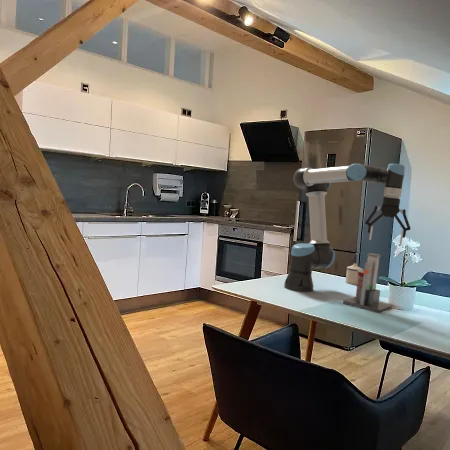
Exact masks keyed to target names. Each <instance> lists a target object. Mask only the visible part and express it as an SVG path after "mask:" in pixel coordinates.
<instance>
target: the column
mask: <svg viewBox="0 0 450 450" xmlns="http://www.w3.org/2000/svg"><path fill="white" fill-rule="evenodd" d="M366 256H367V261H366V263H370V267H369V275H368V283H367V290H370V291H375V289H376V288H377V280H378V273H379V272H378V271H379V265H380V264H379V263H380V258H381V257H382V256H381V254H378V253H372V252H371V253H367V254H366Z"/></svg>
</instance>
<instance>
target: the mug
mask: <svg viewBox="0 0 450 450" xmlns="http://www.w3.org/2000/svg"><path fill="white" fill-rule="evenodd" d="M363 277H364V269H362V270H358V278H357V285H356V292H355V297H358V289H359V288H362V284H363Z"/></svg>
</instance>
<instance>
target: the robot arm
mask: <svg viewBox="0 0 450 450" xmlns="http://www.w3.org/2000/svg"><path fill="white" fill-rule="evenodd" d="M405 167H406V166H405V165H404V164H399V163H389V164H388V165H387V167H379V166H371V165H367V164H362V163H352V164H350V165H341V166H331V167H321V168H312V167H301V168H298V169H297V170H296V171H295V172H294V174H293V178H292V179H293V183H294V185H295V186H296V187H297V188H299V189H301V190H304V191H305V196H306V197H308V211H309V213H308V214H309V228H310V241H309V243H296V244H295V243H294V245H292V247H291V252H290V259H289V260H290V261H289V271H288V274H287V277H286V279H285V281H284V283H283V284H284V285H283V286H284V288H285V289H288V290H291V291H298V292H313V291H314V282H313V278H312V273H313V269H327V268H330V267H331V266H332V265H333V264H334V263H335V259H336V253H335V250H333V249H334V248H332V246H331V242H330V241H329V240H328V237H327V236H328V234H327V232H328V231H327V219H326V218H327V216H326V202H325V201H326V198H325V196H326V195H328V191H329V189H330V187H331V184H332V183H344V182H366V183H370V184H375V183H376V184H384V190H383V198H382V202H381V203H382V205H381V206H378V205H375V206H374V208H373V211H372V212H371V214H370V215H369V216H368V217H367V219H366V220H365V222H364V223H365V224H366V226H368V230H367V233H369V238H368V240H369V241H371V240H372V235H373V229H374V226H373V225H374V224H375V223H376V222H378V220H380V219H381V218H382V217H387V218H388V217H389V218H394V219H395V220H396V221H397V223H398V224H399V226H400V227H401V228H402V230H401V233H400V241H399V246H400V245H402V242H403V238H404V239H405V238H406V233H407V231H411V226H410V222H409V219H408V217H407V214H406V211H407V210H406V209H405V208H404V209H403V208H402V209H400V203H401V199H400V198H401V197H402V191H403V184H404V183H403V182H404V178H405V169H406V168H405ZM378 211H381V213H380V214H379V215H378V216H377V217H376V218H374V219H373V220H372V218H373V217H374V216H375V214H376V213H377V212H378ZM399 213H401V215H402V216H403V219H404V222H405V225H406V226H405V225H404V224H403V222H402V221H401V219H400V218H399V216H398V214H399ZM371 220H372V221H371Z"/></svg>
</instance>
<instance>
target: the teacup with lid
mask: <svg viewBox="0 0 450 450" xmlns="http://www.w3.org/2000/svg"><path fill="white" fill-rule="evenodd" d="M358 270H363V268H361V267H360V266H358V264H357V263H353V264H352V265H350V266H349V265H348V266H347V267H346V274H345V283H346V284H350V285H355V286H357V278H358Z"/></svg>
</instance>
